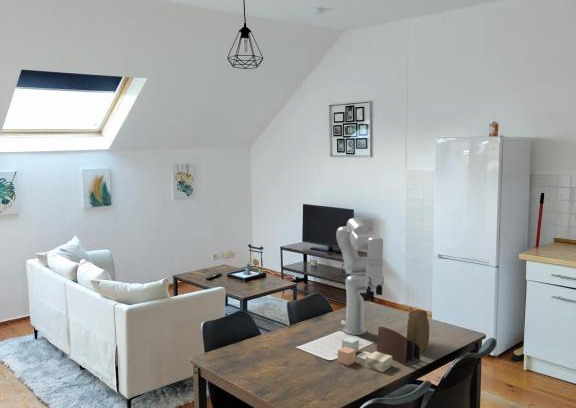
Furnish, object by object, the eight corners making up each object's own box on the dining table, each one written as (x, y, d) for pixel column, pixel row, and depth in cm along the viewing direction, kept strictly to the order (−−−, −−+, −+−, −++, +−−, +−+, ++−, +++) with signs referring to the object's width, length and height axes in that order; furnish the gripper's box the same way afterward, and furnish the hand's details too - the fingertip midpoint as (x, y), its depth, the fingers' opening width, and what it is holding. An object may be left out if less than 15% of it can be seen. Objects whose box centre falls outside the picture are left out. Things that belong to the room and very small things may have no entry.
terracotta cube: (337, 362, 255) (337, 350, 254) (344, 358, 260) (345, 346, 259) (348, 365, 251) (348, 353, 251) (355, 361, 256) (355, 349, 255)
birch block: (365, 367, 250) (365, 356, 250) (374, 361, 257) (375, 351, 257) (382, 372, 245) (382, 362, 244) (391, 366, 252) (392, 356, 251)
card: (355, 356, 262) (355, 355, 261) (364, 352, 268) (364, 351, 267) (369, 361, 256) (369, 360, 256) (378, 356, 262) (378, 355, 262)
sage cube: (341, 351, 268) (342, 339, 267) (348, 348, 273) (348, 336, 272) (351, 354, 264) (352, 343, 263) (358, 351, 269) (358, 339, 268)
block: (415, 354, 266) (417, 315, 263) (404, 349, 272) (406, 310, 269) (430, 349, 272) (432, 311, 269) (419, 344, 278) (420, 307, 276)
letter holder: (404, 366, 252) (406, 337, 250) (376, 351, 269) (377, 324, 267) (420, 361, 257) (421, 333, 256) (391, 347, 274) (392, 321, 272)
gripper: (376, 258, 272) (375, 292, 274) (359, 264, 258) (358, 299, 260) (390, 260, 268) (389, 294, 269) (373, 266, 254) (372, 301, 255)
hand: (374, 296), depth 264 cm, fingers open, 9 cm apart
